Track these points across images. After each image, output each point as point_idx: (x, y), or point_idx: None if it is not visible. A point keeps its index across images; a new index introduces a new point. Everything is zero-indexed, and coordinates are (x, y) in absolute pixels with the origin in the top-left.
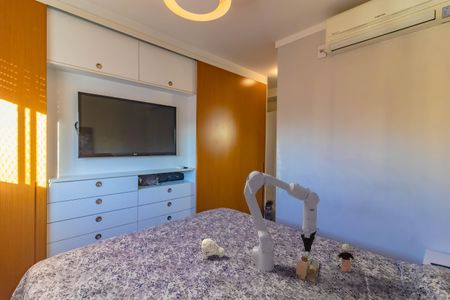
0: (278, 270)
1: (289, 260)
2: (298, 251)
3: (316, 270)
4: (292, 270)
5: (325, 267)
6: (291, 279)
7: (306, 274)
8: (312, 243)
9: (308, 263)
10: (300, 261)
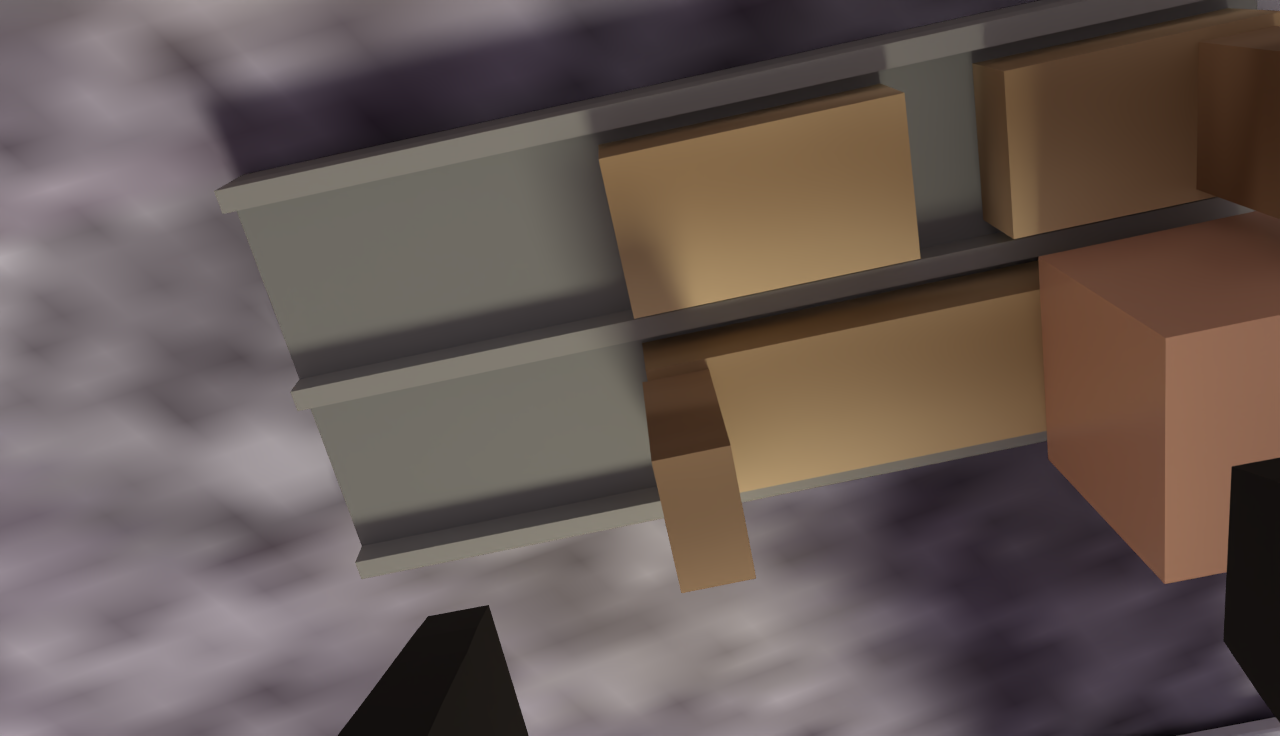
0: (1069, 696)
1: (589, 699)
2: (68, 715)
3: (730, 120)
4: (923, 527)
5: (287, 5)
6: None
7: (1255, 222)
8: (468, 648)
9: (495, 378)
10: (1220, 508)
